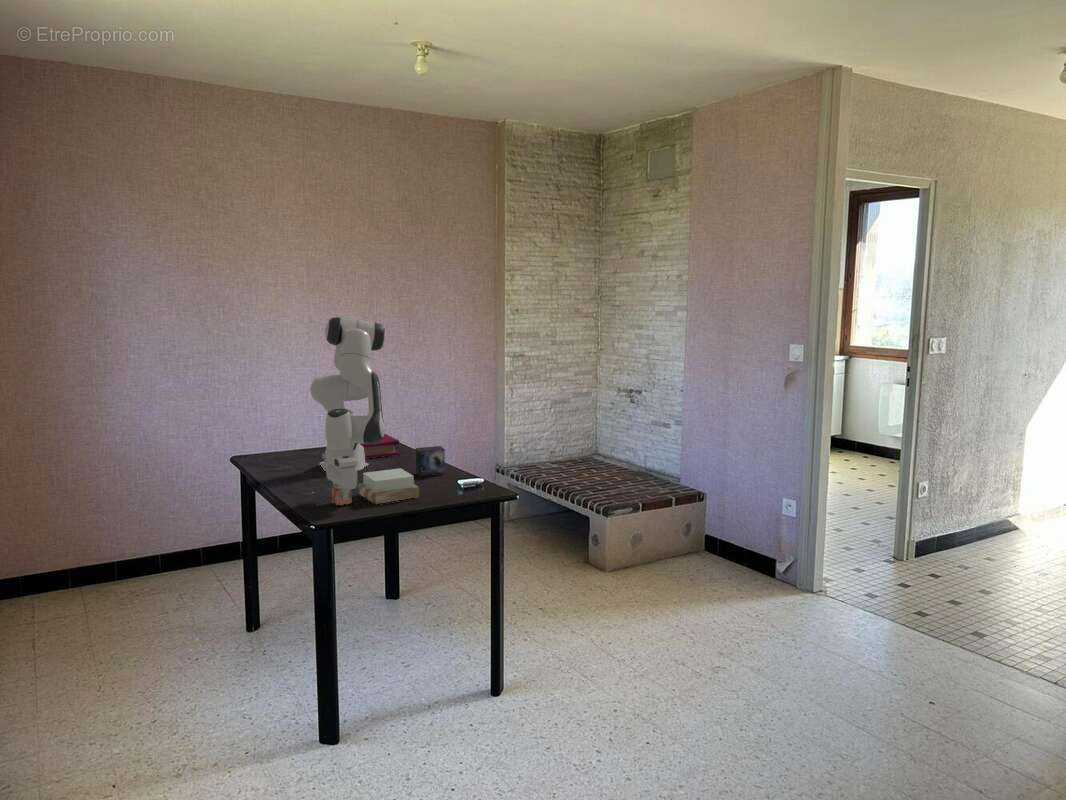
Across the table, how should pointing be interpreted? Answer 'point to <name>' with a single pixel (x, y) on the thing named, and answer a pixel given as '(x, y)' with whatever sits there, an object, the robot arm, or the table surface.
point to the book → (381, 447)
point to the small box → (430, 460)
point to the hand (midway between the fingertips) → (341, 496)
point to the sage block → (388, 480)
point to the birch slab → (388, 494)
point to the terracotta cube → (340, 496)
